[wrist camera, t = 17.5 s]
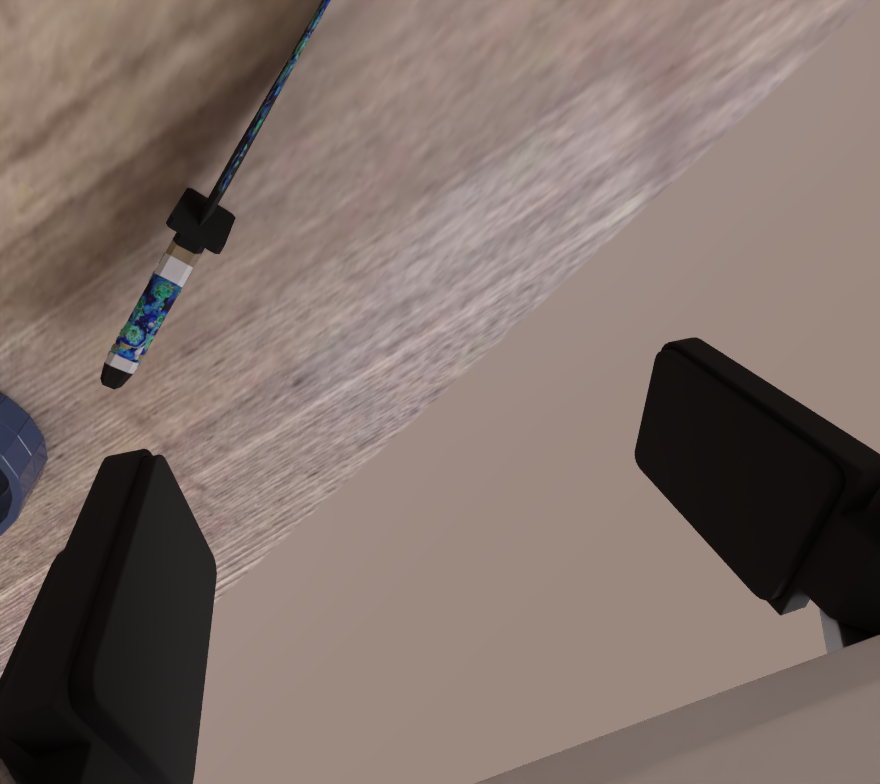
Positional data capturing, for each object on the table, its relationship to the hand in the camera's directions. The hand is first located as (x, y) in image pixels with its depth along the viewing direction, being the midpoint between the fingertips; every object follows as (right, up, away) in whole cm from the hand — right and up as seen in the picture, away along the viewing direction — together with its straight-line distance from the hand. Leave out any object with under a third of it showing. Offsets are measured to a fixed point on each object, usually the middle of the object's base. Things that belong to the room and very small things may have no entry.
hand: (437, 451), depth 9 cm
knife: (-13, +15, +21) cm, 29 cm away
